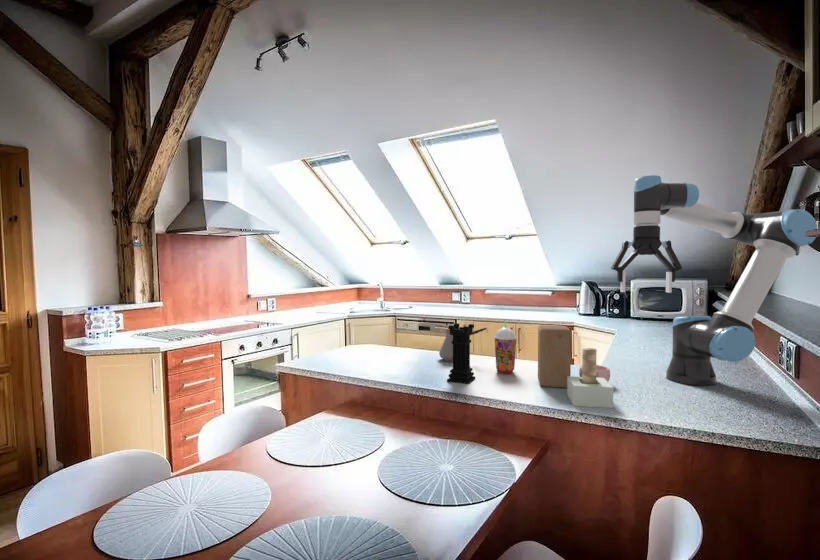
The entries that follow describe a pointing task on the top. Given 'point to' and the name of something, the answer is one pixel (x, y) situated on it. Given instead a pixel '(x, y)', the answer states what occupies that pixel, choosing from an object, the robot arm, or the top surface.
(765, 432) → the top surface
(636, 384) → the top surface
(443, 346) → the coffee pot
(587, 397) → the socket block
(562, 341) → the wooden block
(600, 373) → the mug
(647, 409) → the top surface
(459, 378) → the chess piece
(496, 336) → the smoothie
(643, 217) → the robot arm
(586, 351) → the birch peg
